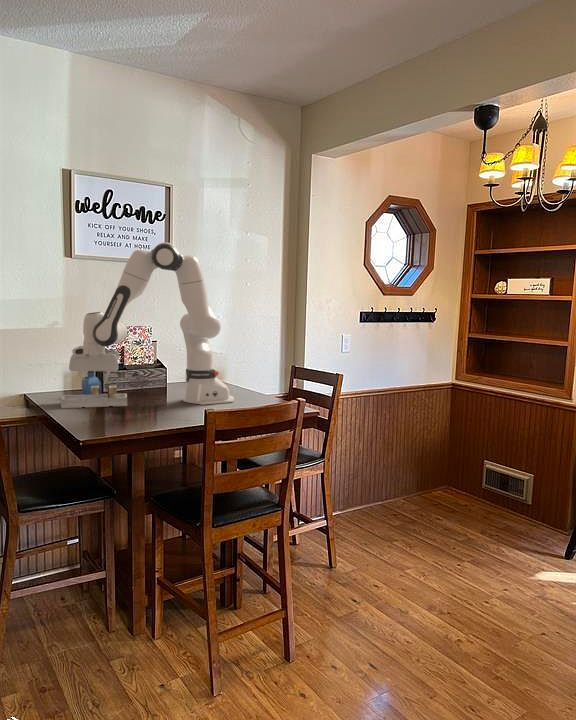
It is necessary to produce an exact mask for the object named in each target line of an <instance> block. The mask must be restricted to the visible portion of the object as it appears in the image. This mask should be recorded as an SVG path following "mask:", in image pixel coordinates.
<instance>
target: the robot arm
mask: <svg viewBox="0 0 576 720" xmlns="http://www.w3.org/2000/svg"><path fill="white" fill-rule="evenodd" d="M201 267H202V266H201V264H200V262H199V259H198V258H197V257H196V256H194V255H190V254H189V255H187V254H186V255H183V254H181V253H180V251H179V249H178V248H177V246H176V245H174V244H172V243H170V242H161V243H158V244H156V246H155V247H154V248H153V249H152V250H151V251H147V250H145V249H135V250H134V251H132V253H131V255H130V257H129V259H128V260H127V262H126V263H125V266H124V269H123V270H122V274H121V277H120V279H119V282H118V284H117V287H116V289H115V291H114V293H113V296H112V297H111V299H110V302H109V303H108V305H107V308H106V311H105V312H103V311H97V312H88V313H86V314H85V315H84V318H83V326H82V327H83V329H82V333H83V341H82V342H83V343H82V345H79V346H76V347H74V348H72V354H71V355H70V359H69V364H68V365H69V366H68V369H69V371H70V372H77V375H78V376H79V377H80V382H81V383H82V382H84V378H85V376H82V372H88V371H95V372H106V376H104V377H103V382H108V377H109V376H110V374H111V372H117V371H119V359H120V353H119V351H117V350H116V349H106V347H110V346H112V345H114V344H117V343H121V342H122V341H124V340H125V339H126V338H127V336H128V327H127V326H126V324H125V323H124V322H123V321H120V320H121V318H122V315H123V314H124V312H125V310H126V308H127V306H128V304H130V303H131V302H133V300H135V299H137V298H138V297H140V296H141V295H142V294H143V293H144V291H145V290H146V288H147V286H148V284H149V282H150V278H151V276H152V274H153V272H154V271H155V270H156V269H158V268H159V269H161V270H164V271H173V272H174V273H175V274H176V279H177V283H178V284H177V285H178V289H179V294H180V299H181V302H182V304H183V305H184V307H185V310H186V311H187V313H185V314H184V315H182V317H181V318H180V321H179V326H180V329H181V331H182V334H183V339H184V343H185V348H186V369H185V382H186V383H185V389H184V390H185V391H184V395H183V399H182V400H183V402H185V403H188V404H189V403H190V404H196V405H215V404H225V403H226V404H227V403H233V402H235V396H233V395H230V389H229V387H228V385H227V384H226V383H225V382H223V381H222V380H221V379H220V378H218V376H220V375H219V374H220V372H219V371H218V370H216V369H214V368H213V351H212V350H213V349H212V348H211V346H210V343H209V339H213V338H215V337H217V336H218V335H219V333H220V331H221V322H220V320H219V319H218V317H217V316H216V315H215V313H214V309H213V308H212V305H211V302H210V301H209V298H208V294H207V289H206V283H205V279H204V274H203V270H202V268H201Z"/></svg>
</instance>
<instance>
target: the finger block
mask: <svg viewBox="0 0 576 720" xmlns="http://www.w3.org/2000/svg"><path fill="white" fill-rule="evenodd" d="M91 394H100V387H99V386H91Z"/></svg>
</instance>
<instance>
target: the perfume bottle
mask: <svg viewBox="0 0 576 720" xmlns="http://www.w3.org/2000/svg"><path fill="white" fill-rule="evenodd" d="M86 372H87V373H86V375H87V376H84V382H81V395H90V394H91V386H99V387H100V394H102V382H101V380H100V379H99V377H98V376H95V375H96V371H86Z"/></svg>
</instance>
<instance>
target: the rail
mask: <svg viewBox="0 0 576 720" xmlns="http://www.w3.org/2000/svg"><path fill="white" fill-rule="evenodd" d="M109 406H113V407H128V394H127V393H117V397H114V398H108V393H101V394H90V395H82V394H64V395H62V396H61V398H60V409H80V408H81V409H82V407H85V408H103V407H105V408H106V407H107V408H108V407H109ZM109 408H110V407H109Z"/></svg>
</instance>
